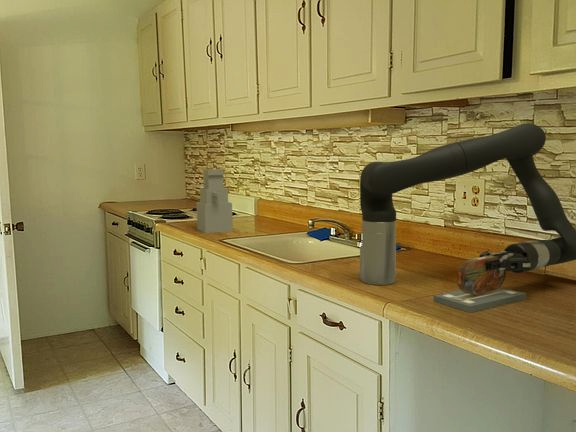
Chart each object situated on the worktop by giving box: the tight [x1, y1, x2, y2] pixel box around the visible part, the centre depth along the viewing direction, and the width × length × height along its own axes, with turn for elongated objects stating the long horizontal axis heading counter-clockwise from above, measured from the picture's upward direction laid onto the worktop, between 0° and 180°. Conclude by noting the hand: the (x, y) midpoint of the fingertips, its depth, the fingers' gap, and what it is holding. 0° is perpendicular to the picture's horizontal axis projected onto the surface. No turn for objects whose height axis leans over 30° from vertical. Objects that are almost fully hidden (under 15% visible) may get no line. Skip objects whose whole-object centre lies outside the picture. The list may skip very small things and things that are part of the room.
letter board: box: [433, 286, 527, 314], centre depth 132 cm, size 11×20×2 cm, turn 121°
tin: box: [456, 256, 507, 295], centre depth 131 cm, size 15×3×8 cm, turn 121°
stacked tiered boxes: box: [196, 168, 234, 234], centre depth 250 cm, size 13×24×28 cm, turn 26°
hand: (481, 265), depth 131 cm, fingers closed on tin, 2 cm apart
